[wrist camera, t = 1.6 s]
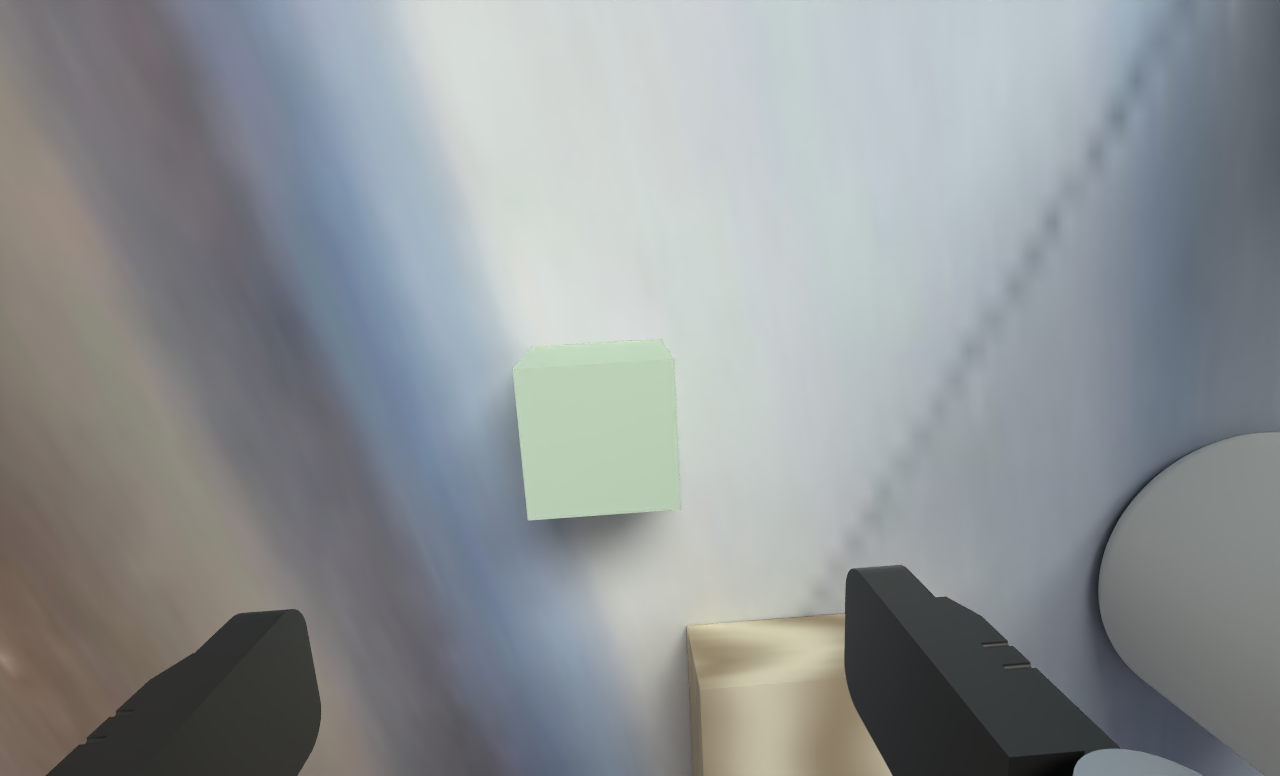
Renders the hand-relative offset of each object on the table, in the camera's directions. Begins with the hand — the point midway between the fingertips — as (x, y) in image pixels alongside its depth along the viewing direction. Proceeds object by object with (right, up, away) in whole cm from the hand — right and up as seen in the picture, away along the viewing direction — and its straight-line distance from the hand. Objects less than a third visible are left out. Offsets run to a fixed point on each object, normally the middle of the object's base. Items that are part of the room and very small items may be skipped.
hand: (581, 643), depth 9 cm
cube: (-1, +3, +15) cm, 16 cm away
